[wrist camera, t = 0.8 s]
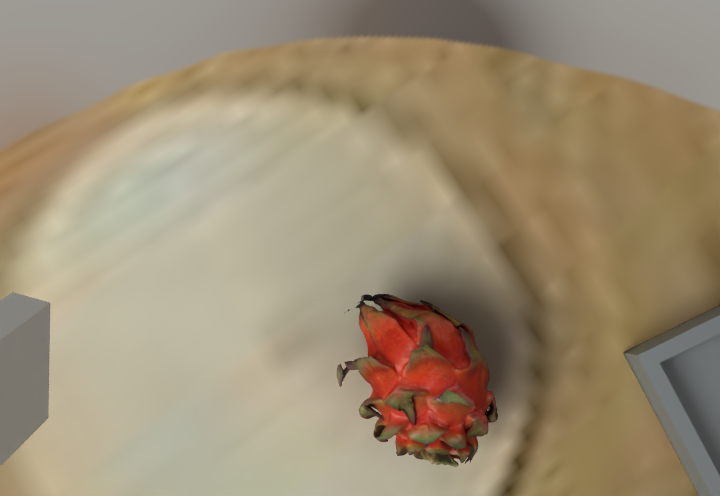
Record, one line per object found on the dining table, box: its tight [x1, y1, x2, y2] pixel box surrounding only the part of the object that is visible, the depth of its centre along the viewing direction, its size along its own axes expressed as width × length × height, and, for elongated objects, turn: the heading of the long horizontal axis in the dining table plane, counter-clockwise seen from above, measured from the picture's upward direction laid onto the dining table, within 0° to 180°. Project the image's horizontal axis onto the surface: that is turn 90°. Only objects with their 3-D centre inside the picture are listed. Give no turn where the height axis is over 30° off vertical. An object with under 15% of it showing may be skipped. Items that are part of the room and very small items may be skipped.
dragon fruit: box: [337, 294, 498, 467], centre depth 40 cm, size 8×8×12 cm
